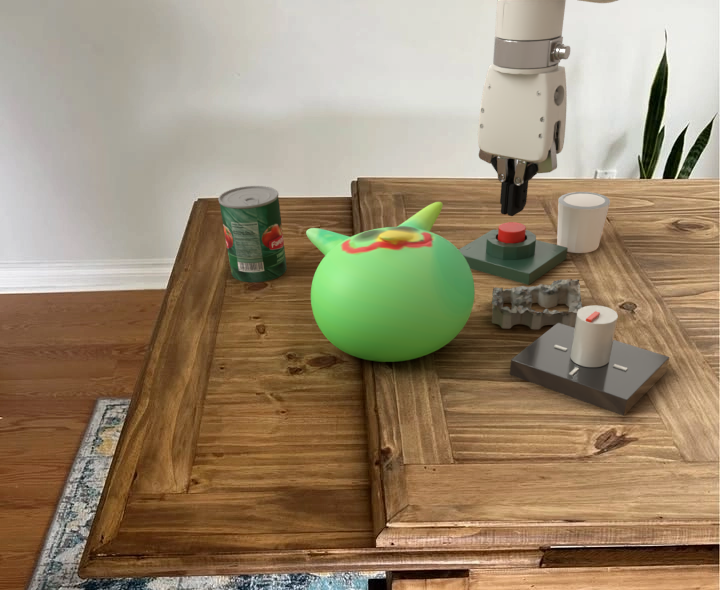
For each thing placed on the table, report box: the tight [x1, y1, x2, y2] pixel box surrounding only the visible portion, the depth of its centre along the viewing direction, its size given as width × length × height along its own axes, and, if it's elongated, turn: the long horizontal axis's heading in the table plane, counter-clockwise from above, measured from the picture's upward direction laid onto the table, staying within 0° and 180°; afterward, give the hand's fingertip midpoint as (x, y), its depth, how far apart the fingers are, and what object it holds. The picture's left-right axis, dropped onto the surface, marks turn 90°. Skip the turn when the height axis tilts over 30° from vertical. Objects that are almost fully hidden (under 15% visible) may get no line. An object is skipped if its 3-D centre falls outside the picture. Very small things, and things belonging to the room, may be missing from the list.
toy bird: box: [305, 201, 476, 363], centre depth 81 cm, size 18×17×15 cm
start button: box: [497, 221, 527, 243], centre depth 98 cm, size 4×4×2 cm
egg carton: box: [491, 278, 583, 330], centre depth 87 cm, size 11×8×4 cm
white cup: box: [556, 191, 611, 254], centre depth 102 cm, size 7×7×7 cm
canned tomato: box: [217, 185, 288, 283], centre depth 99 cm, size 8×8×11 cm
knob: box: [570, 304, 619, 367], centre depth 75 cm, size 4×4×5 cm
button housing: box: [457, 229, 568, 286], centre depth 100 cm, size 12×10×4 cm
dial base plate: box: [509, 323, 670, 417], centre depth 77 cm, size 13×10×3 cm
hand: (512, 211), depth 96 cm, fingers closed
